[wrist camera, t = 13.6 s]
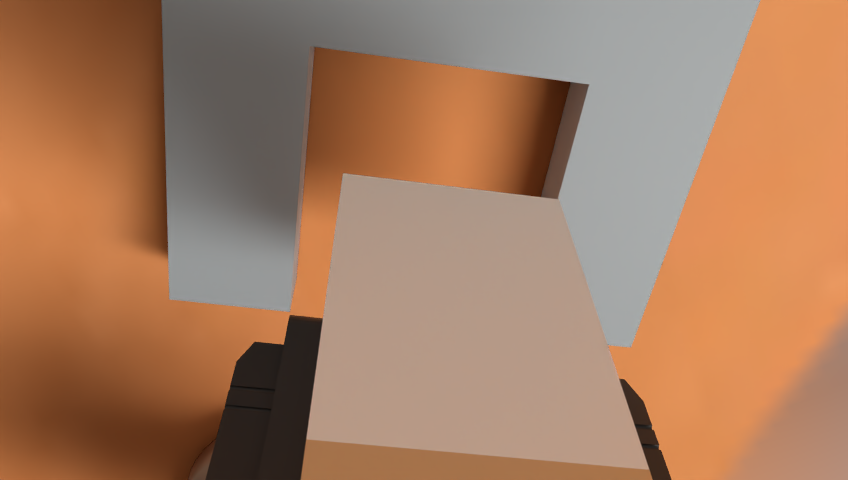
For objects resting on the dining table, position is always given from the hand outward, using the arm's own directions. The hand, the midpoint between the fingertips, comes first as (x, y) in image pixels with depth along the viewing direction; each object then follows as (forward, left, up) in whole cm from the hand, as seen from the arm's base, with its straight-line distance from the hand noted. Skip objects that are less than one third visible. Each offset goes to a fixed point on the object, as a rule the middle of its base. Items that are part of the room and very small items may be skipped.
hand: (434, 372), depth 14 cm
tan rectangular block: (0, 0, -2) cm, 2 cm away
